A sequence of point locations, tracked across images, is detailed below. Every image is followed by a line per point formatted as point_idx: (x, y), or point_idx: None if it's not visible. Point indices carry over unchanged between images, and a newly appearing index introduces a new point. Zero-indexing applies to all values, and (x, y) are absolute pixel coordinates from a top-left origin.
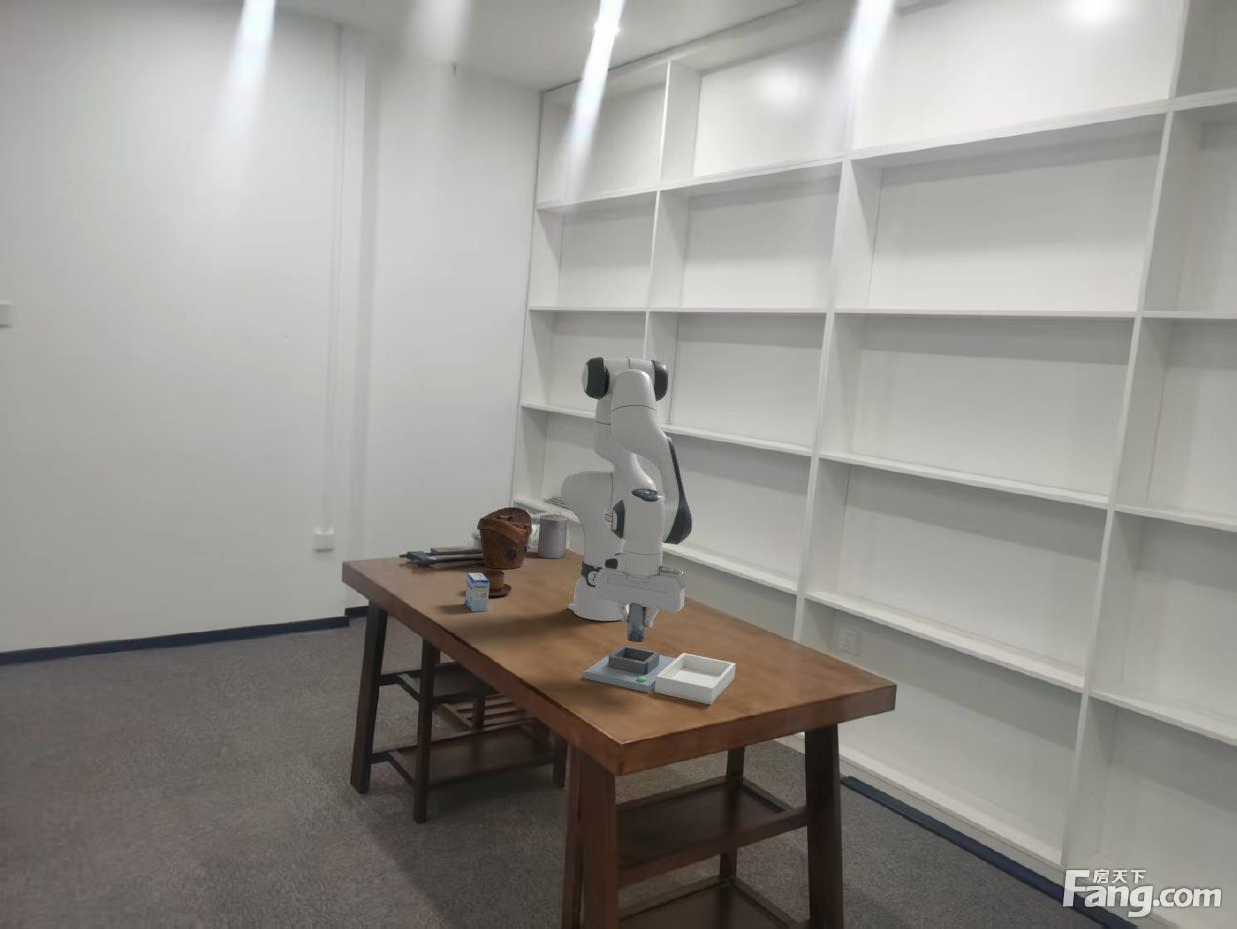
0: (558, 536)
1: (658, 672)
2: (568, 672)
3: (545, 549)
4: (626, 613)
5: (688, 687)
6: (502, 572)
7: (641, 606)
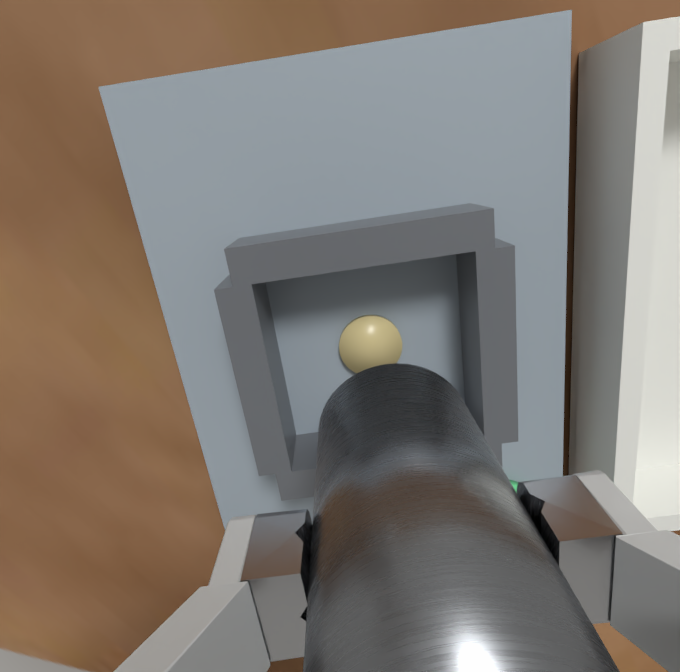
0: None
1: (536, 351)
2: (147, 531)
3: None
4: (250, 613)
5: None
6: None
7: None
